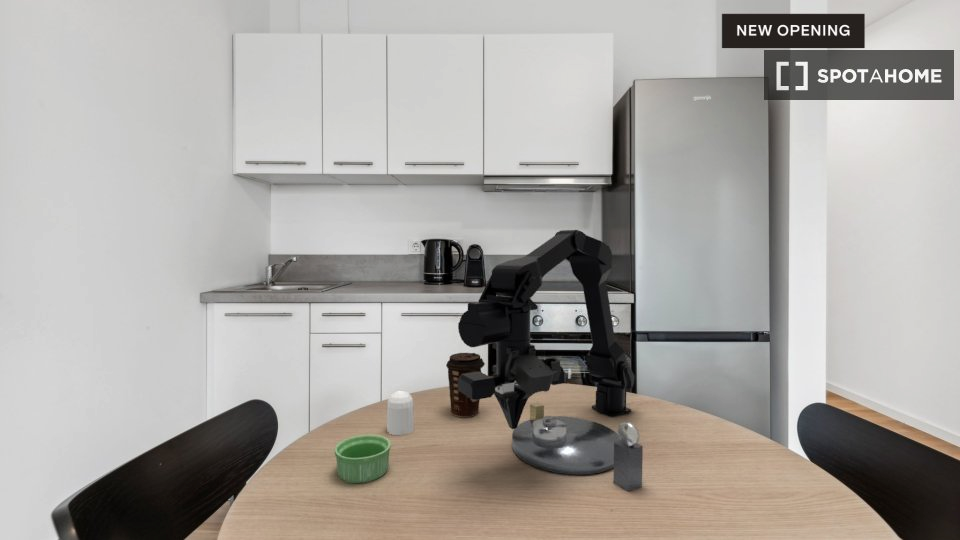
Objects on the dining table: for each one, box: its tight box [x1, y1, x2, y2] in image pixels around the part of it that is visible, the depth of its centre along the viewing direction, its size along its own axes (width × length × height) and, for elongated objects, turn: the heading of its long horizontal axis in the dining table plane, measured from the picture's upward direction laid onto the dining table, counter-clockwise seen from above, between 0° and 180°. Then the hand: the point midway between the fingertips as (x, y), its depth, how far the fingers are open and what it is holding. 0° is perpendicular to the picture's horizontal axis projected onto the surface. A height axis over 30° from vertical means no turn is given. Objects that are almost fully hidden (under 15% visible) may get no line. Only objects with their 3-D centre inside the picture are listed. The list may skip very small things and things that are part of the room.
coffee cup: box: [445, 352, 486, 418], centre depth 99 cm, size 9×8×13 cm
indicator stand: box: [612, 421, 644, 493], centre depth 69 cm, size 3×3×10 cm
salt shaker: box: [386, 390, 415, 436], centre depth 89 cm, size 5×5×8 cm
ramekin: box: [334, 434, 392, 484], centre depth 73 cm, size 9×9×4 cm
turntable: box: [511, 402, 621, 476], centre depth 81 cm, size 20×20×5 cm
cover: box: [533, 415, 566, 449], centre depth 79 cm, size 6×6×4 cm
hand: (512, 428), depth 75 cm, fingers closed
